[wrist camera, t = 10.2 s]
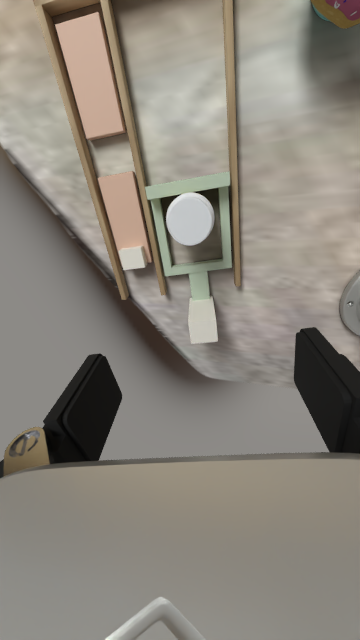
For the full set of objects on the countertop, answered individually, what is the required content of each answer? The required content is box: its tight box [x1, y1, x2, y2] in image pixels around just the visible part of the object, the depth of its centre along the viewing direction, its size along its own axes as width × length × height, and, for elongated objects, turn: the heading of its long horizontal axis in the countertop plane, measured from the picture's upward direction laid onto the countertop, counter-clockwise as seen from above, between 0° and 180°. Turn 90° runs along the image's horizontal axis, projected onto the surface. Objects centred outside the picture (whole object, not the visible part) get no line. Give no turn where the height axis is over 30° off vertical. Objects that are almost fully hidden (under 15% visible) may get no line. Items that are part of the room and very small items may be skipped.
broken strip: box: [55, 12, 153, 270], centre depth 24 cm, size 4×22×2 cm, turn 9°
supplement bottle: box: [166, 192, 215, 246], centre depth 24 cm, size 5×5×8 cm
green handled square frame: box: [145, 171, 232, 344], centre depth 26 cm, size 9×17×7 cm, turn 9°
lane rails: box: [33, 0, 241, 300], centre depth 25 cm, size 16×28×2 cm, turn 9°
